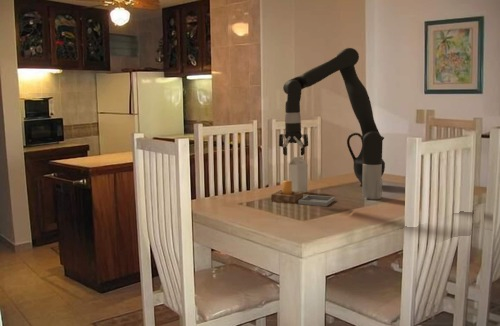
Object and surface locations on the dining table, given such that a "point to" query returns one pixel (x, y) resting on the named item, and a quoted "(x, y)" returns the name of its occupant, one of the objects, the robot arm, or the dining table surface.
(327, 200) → the tray
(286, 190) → the plug
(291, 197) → the socket block
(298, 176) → the milk carton
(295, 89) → the robot arm
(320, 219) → the dining table surface
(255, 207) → the dining table surface
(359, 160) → the pitcher
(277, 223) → the dining table surface
